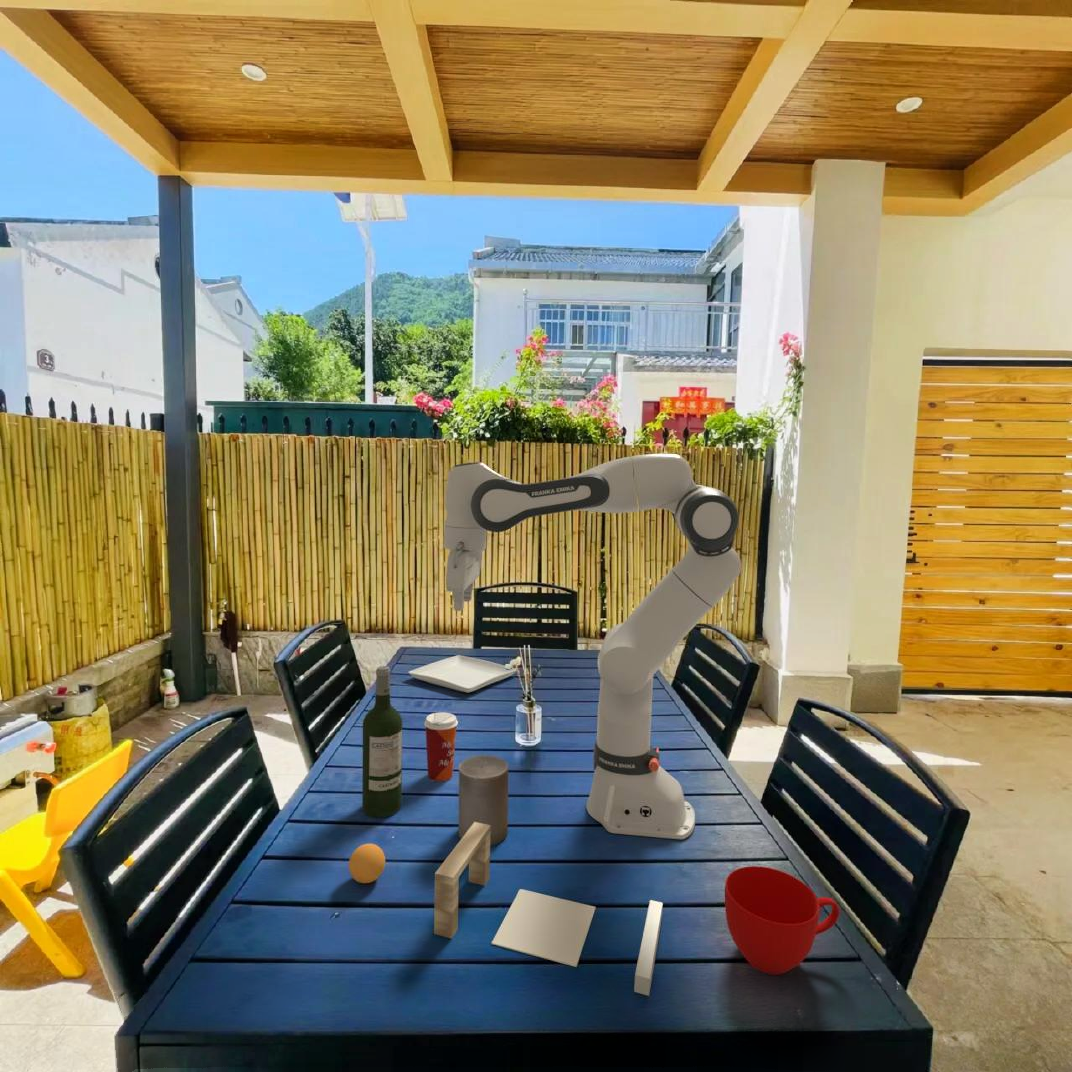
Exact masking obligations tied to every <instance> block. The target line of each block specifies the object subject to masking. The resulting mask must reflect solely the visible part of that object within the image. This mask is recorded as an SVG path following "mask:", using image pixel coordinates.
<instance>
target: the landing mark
mask: <svg viewBox="0 0 1072 1072" xmlns="http://www.w3.org/2000/svg"><path fill="white" fill-rule="evenodd" d="M596 908H597V907H596V906H593V905H590V904H584V903H581V902H577V901H576V902H575V901H572V900H568V899H563V898H558V897H555V896H551V895H547V894H542V893H539V892H534V891H531V890H527V889H521V888H519V890H518V892H517V894H516V896H515V898H514V900H513V902H512V904H511V905H510V907H509V909H508V910H507V913H506V915H505V917H504V919H503V921H502V923H501V924H500V927H499V928H498V930H497V932H496V934H495V935H494V937H493V940H491V945H494V946H497V947H500V948H503V949H504V948H505V949H507V950H512V951H515V952H519V953H523V954H526V955H530V956H535V957H537V958H538V957H539V958H541V959H544V960H550V961H552V962H556V963H560V964H564V965H567V966H571V967H575V968H577V966H578V964H579V960H580V957H581V954H582V951H583V947H584V945H585V943H586V942H585V941H586V938H587V936H588V933H589V930H590V926H591V924H592V920H593V917H594V915H595V911H596Z"/></svg>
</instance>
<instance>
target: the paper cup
mask: <svg viewBox="0 0 1072 1072" xmlns="http://www.w3.org/2000/svg"><path fill="white" fill-rule="evenodd" d="M458 723H459V721H458V720H457V717H456V715H454V714H453V713H450V712H443V711H442V712H435V713H430V714H428V715H427V716H426V718H425V721H424V723H423V725H424V727H425V738H426V739H425V741H426V743H425V744H426V763H427V778H428V777H429V778H428V779H429V780H430V779H431V780H430V781H432V780H434V781H433V782H435V781H443V782H446V781H445V780H447V781H449V780H451V779H452V777H453V773H454V761H455V749H456V737H457V736H456V735H457V726H458V725H459V724H458ZM450 778H451V779H450ZM448 779H449V780H448Z"/></svg>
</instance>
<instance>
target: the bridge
mask: <svg viewBox="0 0 1072 1072" xmlns="http://www.w3.org/2000/svg"><path fill="white" fill-rule="evenodd" d="M490 832H491V825H487V824H482V823H477V822H474V823H473V825H472V826H471V827H470V828H469V830H468V831H467V832H466V834H465V835H464V836H463V838H462V839H460V840H459V842H458V843H457V844H456V845H455V847H454V848H453V849H452V851H451V852H450V853H449V854H448V856H447V857H446V858H445V860H444V861H443V862H442V863H441V865H440V866H439V867H438V869H437V870H436V871H435V873H434V906H433V907H434V908H433V909H434V913H433V915H434V917H433V934H434V935H436V936H441V937H445V938H449V939H453V938H454V936H455V935H456V934H457V931H458V930H459V929H458V927H459V879H460V877H461V875H462V874H463V872H464V870H465V869H466V867H467V866H468V882H469V883H473V884H476V885H477V884H478V885H481V886H486V885H487V883H488V881H489V880H490V868H491V867H490V866H491V861H490V860H491V846H490Z"/></svg>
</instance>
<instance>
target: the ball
mask: <svg viewBox="0 0 1072 1072" xmlns="http://www.w3.org/2000/svg"><path fill="white" fill-rule="evenodd" d="M385 866H386V857H385V853H384V851H383V849H382V848H381V847H380V846H378V845H377V844H374V843H365V844H362V845H359V846H358V847H357V848H355V850H354V851H353V852H352V854H351V855H350V858H349V861H348V869H349V870H348V871H349V873H350V875H351V878H352V879H354V880H355V881H356V882H358V883H361V884H370V883H372V882H374V881H376V880H377V879H378V878H379V877H380V876H381V875H382V873H383V872H384V871H385V870H384V869H385Z"/></svg>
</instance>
